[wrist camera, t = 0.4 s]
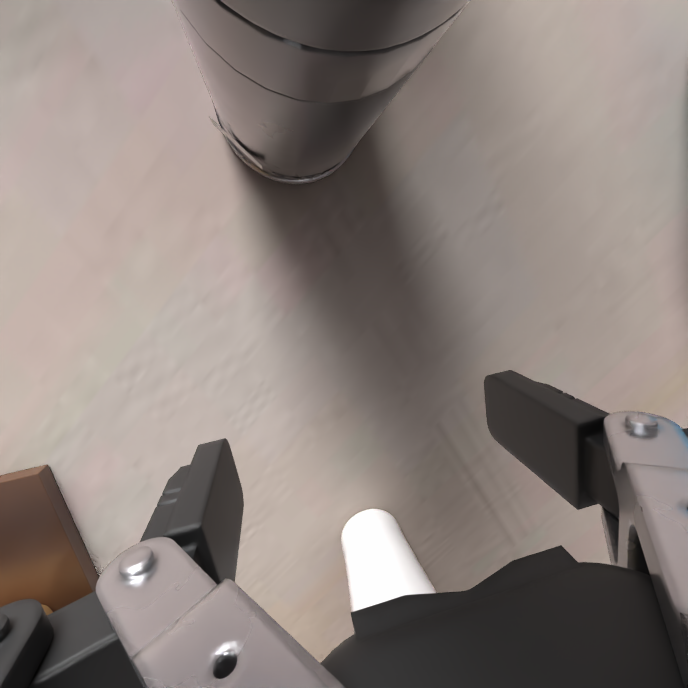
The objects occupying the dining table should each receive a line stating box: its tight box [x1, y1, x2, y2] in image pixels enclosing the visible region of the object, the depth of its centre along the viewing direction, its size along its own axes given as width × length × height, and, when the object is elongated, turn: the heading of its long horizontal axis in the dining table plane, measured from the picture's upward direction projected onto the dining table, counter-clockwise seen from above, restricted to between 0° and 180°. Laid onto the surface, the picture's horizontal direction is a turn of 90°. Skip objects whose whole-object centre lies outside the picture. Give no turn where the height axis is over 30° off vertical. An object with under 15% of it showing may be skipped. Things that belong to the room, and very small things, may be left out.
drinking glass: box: [341, 509, 437, 634], centre depth 26 cm, size 7×7×15 cm
